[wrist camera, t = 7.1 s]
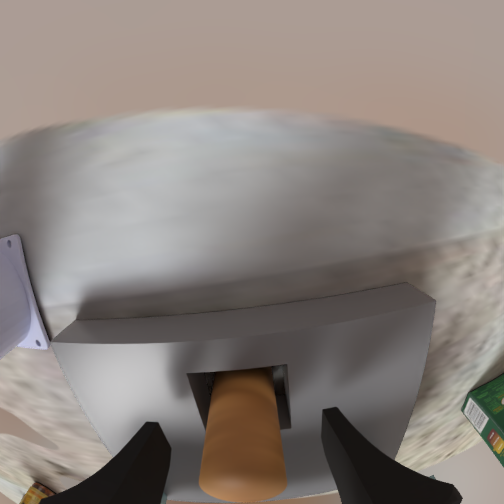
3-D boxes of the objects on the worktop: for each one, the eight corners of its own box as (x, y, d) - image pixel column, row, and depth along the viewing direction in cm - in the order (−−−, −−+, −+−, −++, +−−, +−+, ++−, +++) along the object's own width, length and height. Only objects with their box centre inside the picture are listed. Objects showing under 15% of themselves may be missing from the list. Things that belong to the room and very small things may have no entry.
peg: (221, 392, 15) (209, 502, 8) (211, 350, 15) (188, 466, 7) (273, 387, 15) (288, 498, 8) (268, 344, 15) (285, 461, 7)
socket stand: (151, 472, 18) (132, 544, 9) (74, 320, 14) (-9, 397, 6) (377, 450, 18) (408, 521, 9) (407, 282, 14) (510, 351, 6)
